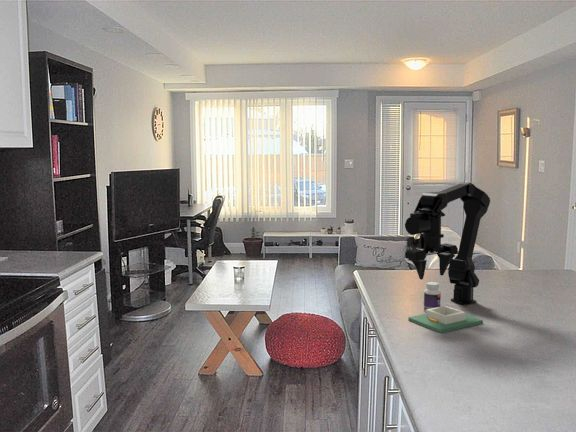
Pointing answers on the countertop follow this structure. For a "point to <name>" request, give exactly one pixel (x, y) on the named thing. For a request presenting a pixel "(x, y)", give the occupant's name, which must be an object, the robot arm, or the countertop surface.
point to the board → (445, 319)
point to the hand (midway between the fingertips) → (431, 277)
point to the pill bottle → (432, 296)
